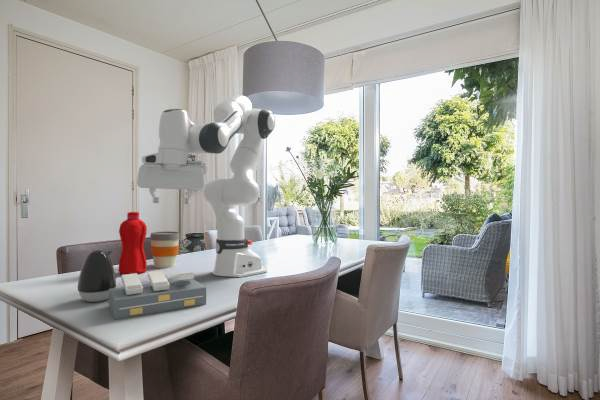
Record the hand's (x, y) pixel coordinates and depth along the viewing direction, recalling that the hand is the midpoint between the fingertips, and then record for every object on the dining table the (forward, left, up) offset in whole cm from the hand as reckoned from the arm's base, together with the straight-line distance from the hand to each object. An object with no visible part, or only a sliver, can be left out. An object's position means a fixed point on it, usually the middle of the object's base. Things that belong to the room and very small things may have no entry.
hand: (171, 203), depth 111 cm
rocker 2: (+5, +7, -22) cm, 24 cm away
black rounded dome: (+19, -8, -30) cm, 36 cm away
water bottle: (+4, -43, -30) cm, 53 cm away
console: (+5, +7, -29) cm, 31 cm away
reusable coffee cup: (-11, -50, -30) cm, 59 cm away
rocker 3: (-2, +7, -22) cm, 23 cm away
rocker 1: (+12, +7, -22) cm, 26 cm away
